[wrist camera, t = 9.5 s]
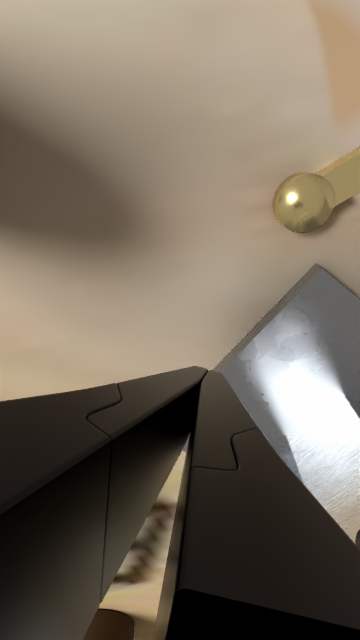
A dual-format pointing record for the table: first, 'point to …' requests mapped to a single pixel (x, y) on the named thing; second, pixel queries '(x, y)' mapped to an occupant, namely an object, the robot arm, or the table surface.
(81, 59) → the table surface
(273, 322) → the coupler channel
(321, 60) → the table surface
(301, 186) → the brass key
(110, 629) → the olive oil
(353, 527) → the block
